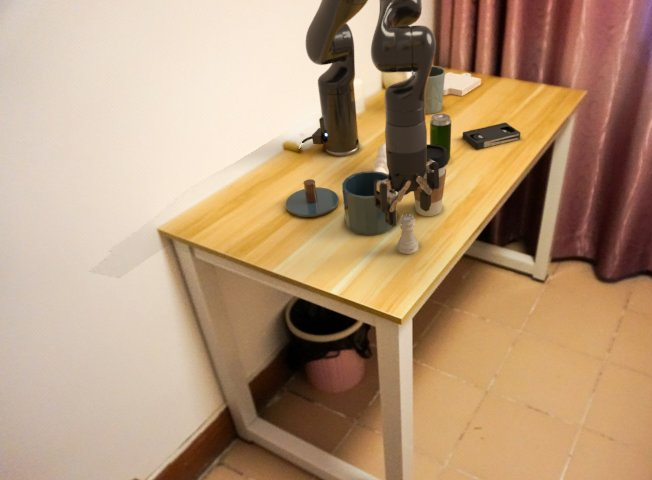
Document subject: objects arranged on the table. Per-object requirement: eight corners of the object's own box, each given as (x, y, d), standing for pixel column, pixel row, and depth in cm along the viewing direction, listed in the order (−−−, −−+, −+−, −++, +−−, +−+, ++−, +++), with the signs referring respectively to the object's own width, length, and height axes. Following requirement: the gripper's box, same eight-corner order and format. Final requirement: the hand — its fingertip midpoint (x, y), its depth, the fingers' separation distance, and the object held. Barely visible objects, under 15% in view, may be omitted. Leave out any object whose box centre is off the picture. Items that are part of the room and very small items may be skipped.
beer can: (437, 167, 141) (438, 123, 133) (425, 159, 144) (425, 116, 137) (454, 161, 143) (455, 118, 136) (442, 153, 147) (442, 111, 139)
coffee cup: (435, 223, 120) (436, 162, 111) (403, 213, 124) (401, 153, 115) (453, 205, 126) (455, 146, 117) (421, 196, 129) (421, 138, 120)
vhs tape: (476, 149, 148) (477, 143, 147) (462, 138, 154) (462, 132, 152) (520, 139, 152) (521, 132, 151) (505, 128, 158) (505, 122, 157)
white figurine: (404, 139, 134) (384, 164, 126) (406, 168, 140) (387, 194, 132) (381, 135, 136) (360, 160, 129) (384, 164, 142) (364, 189, 134)
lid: (277, 214, 125) (272, 192, 121) (300, 188, 134) (296, 166, 130) (326, 222, 122) (323, 199, 118) (346, 194, 131) (344, 172, 127)
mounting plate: (457, 98, 177) (458, 92, 176) (425, 91, 184) (425, 85, 182) (484, 82, 189) (484, 76, 188) (452, 75, 195) (452, 70, 194)
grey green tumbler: (449, 106, 173) (451, 68, 165) (434, 117, 166) (434, 78, 159) (422, 100, 177) (422, 63, 170) (406, 111, 170) (405, 73, 163)
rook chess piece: (403, 257, 111) (402, 225, 106) (393, 246, 114) (392, 214, 109) (422, 251, 112) (422, 219, 107) (412, 240, 115) (411, 208, 110)
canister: (338, 231, 119) (333, 193, 113) (356, 204, 127) (353, 168, 122) (387, 238, 116) (385, 200, 110) (402, 210, 125) (401, 174, 119)
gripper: (423, 125, 104) (423, 197, 114) (362, 147, 97) (368, 222, 107) (449, 137, 99) (447, 212, 109) (387, 161, 93) (391, 238, 102)
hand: (408, 217), depth 108 cm, fingers open, 8 cm apart
